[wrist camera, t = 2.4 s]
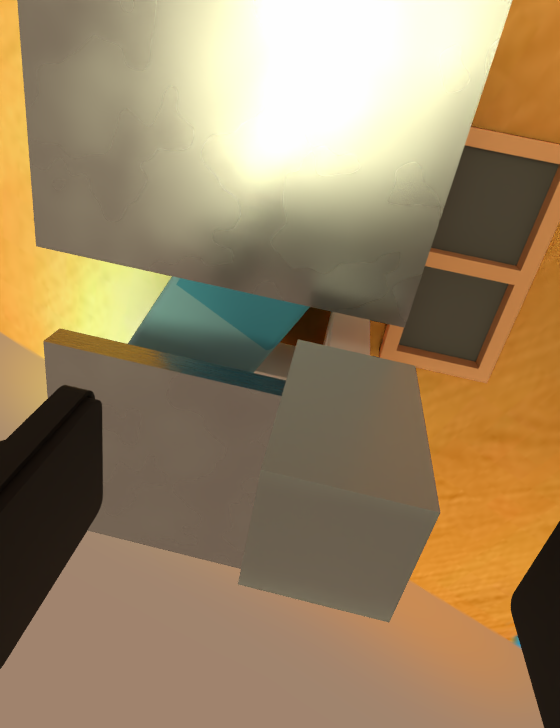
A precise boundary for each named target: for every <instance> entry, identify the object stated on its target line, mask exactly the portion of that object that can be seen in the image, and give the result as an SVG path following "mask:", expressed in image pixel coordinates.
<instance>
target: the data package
mask: <svg viewBox="0 0 560 728" xmlns="http://www.w3.org/2000/svg"><path fill="white" fill-rule="evenodd" d="M309 308H310V307H309V306H304V305H300V304H295V303H291V302H286V301H282V300H277V299H273V298H268V297H264V296H259V295H255V294H250V293H246V292H241V291H236V290H232V289H227V288H223V287H218V286H214V285H209V284H205V283H200V282H196V281H191V280H187V279H182V278H178V277H173V276H172V277H171V279H170V280H169V282H168V283H167V285H166V286H165V288H164V290H163V291H162V293H161V294H160V296H159V297H158V299H157V300H156V302H155V303H154V305H153V306H152V308H151V309H150V311H149V312H148V314H147V315H146V317H145V319H144V320H143V322H142V323H141V325H140V326H139V328H138V329H137V331H136V332H135V334H134V335H133V337H132V338H131V340H130V341H129V343H128V344H130V345H134V346H138V347H143V348H147V349H151V350H156V351H160V352H164V353H169V354H173V355H177V356H182V357H186V358H191V359H195V360H199V361H204V362H208V363H212V364H217V365H221V366H225V367H230V368H234V369H238V370H243V371H247V372H252V373H254V372H255V370H256V369H257V368H258V367H259V366H260V365H261V363H262V362H263V361H264V360H265V359H266V358H267V356H268V355H269V354H270V353H271V352H272V351H273V350H274V348H275V347H276V346H277V345H278V344H279V343H280V341H281V340H282V339H283V338H284V337H285V336H286V334H287V333H288V332H289V331H290V330H291V329H292V327H293V326H294V325H295V324H296V323H297V322H298V321H299V319H300V318H301V317H302V316H303V315H304V314H305V312H306V311H307V310H308V309H309Z"/></svg>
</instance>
